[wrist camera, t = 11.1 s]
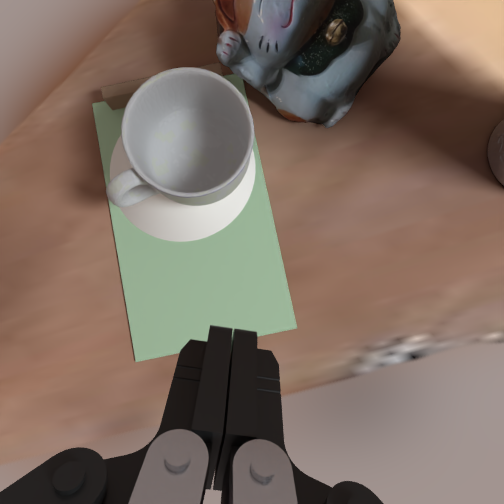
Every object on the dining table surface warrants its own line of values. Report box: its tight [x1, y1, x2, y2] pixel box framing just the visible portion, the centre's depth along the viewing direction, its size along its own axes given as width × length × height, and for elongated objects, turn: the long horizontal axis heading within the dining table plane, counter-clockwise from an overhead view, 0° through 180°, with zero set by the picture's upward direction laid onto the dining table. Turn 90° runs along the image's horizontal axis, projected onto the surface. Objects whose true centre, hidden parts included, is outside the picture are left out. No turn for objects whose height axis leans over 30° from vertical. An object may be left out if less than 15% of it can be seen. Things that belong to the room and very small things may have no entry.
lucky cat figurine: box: [213, 0, 401, 128], centre depth 32 cm, size 15×12×14 cm
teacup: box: [106, 67, 254, 207], centre depth 32 cm, size 14×11×8 cm
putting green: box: [92, 62, 297, 362], centre depth 35 cm, size 16×27×2 cm, turn 12°
